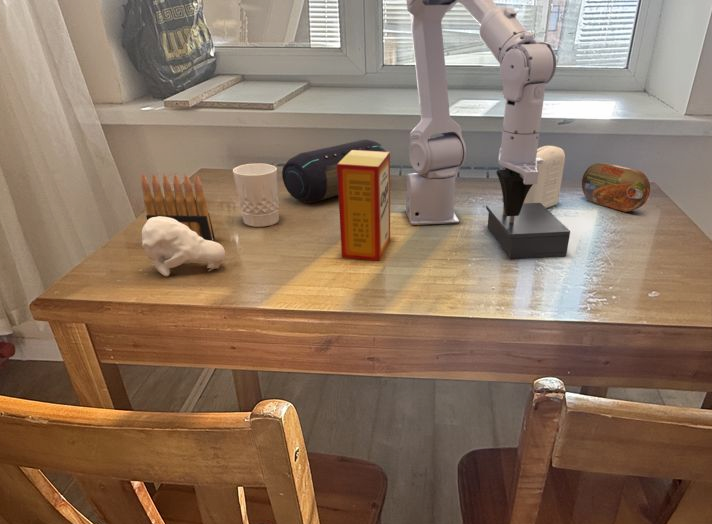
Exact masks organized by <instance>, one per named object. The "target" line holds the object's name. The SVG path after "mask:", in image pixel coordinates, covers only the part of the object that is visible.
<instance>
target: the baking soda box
mask: <svg viewBox="0 0 712 524" xmlns="http://www.w3.org/2000/svg"><path fill="white" fill-rule="evenodd" d="M337 177H338V195H337V196H338V209H339V210H338V211H339V212H338V213H339V231H340V246H341V247H340V248H341V259H352V260H366V261H375V262H377V261H378V262H380V261H381V259H382V257H383V255H384V253H385V251H386V249H387V247H388V245H389V244H390V241H391V152H390V151H386V152H381V151H364V150H351V151H350V152H349V153H348V154H347V155H346V156H345V157H344V158H343V159H342V160H341V161H340V162H339V163H338V164H337Z"/></svg>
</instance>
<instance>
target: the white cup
mask: <svg viewBox="0 0 712 524" xmlns="http://www.w3.org/2000/svg"><path fill="white" fill-rule="evenodd" d="M277 168H278V167H276V166H275V165H274V164H269V163H262V162H261V163H257V162H256V163H246V164H241V165H238V166H235V167H234V168H233V169H232V174H233V175H232V176H233V180H234V185H235V190H236V195H237V198H238V203H239V209H240V210H241V214H242V219H243V224H245V225H247V226H249V227H255V228H262V227H264V228H265V227H269V226H270V227H271V226H273V225H275V224H278V222H279V221H280V211H279V206H280V204H279V202H280V201H279V186H278V184H279V183H278V182H279V181H278V170H277Z"/></svg>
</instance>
